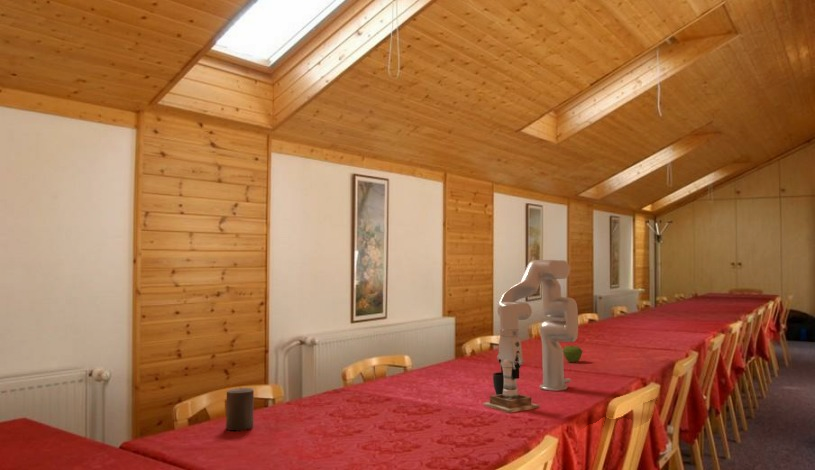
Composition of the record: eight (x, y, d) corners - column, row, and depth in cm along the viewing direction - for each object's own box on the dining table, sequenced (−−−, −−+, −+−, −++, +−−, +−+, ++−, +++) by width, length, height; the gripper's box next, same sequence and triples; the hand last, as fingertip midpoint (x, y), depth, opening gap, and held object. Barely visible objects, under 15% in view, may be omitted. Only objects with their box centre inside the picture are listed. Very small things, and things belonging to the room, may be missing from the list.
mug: (508, 399, 267) (508, 377, 268) (489, 395, 277) (489, 373, 277) (522, 397, 272) (521, 375, 272) (502, 392, 282) (502, 371, 282)
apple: (564, 363, 358) (563, 346, 358) (562, 360, 368) (562, 343, 369) (583, 363, 356) (582, 346, 356) (581, 360, 366) (580, 343, 367)
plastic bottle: (519, 399, 258) (518, 350, 258) (517, 402, 251) (515, 353, 252) (504, 398, 260) (503, 350, 260) (501, 401, 253) (500, 352, 254)
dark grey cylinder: (239, 432, 221) (239, 390, 222) (220, 429, 226) (220, 387, 227) (259, 426, 229) (259, 385, 230) (240, 423, 234) (241, 383, 235)
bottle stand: (512, 400, 266) (512, 390, 266) (538, 407, 252) (538, 397, 253) (483, 405, 258) (483, 395, 258) (508, 413, 244) (508, 402, 244)
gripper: (530, 334, 251) (531, 379, 250) (502, 330, 266) (503, 373, 265) (516, 336, 247) (517, 381, 246) (488, 332, 262) (489, 375, 261)
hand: (510, 376), depth 256 cm, fingers closed on plastic bottle, 6 cm apart
